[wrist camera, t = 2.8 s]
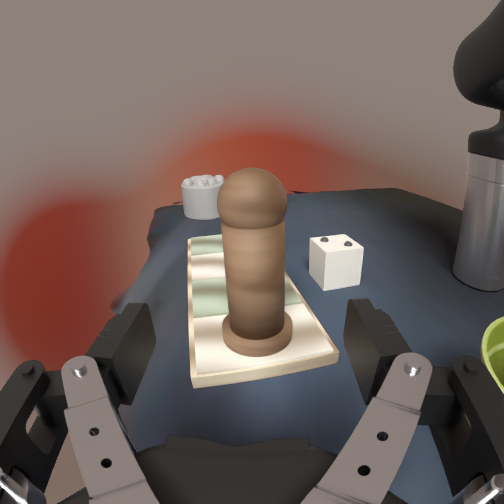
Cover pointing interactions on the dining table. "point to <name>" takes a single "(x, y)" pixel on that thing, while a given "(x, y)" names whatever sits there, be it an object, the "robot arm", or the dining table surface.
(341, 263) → the die
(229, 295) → the pawn
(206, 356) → the game board
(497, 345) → the plant pot
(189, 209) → the lumpy-topped squat cylinder
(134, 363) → the robot arm
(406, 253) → the dining table surface
